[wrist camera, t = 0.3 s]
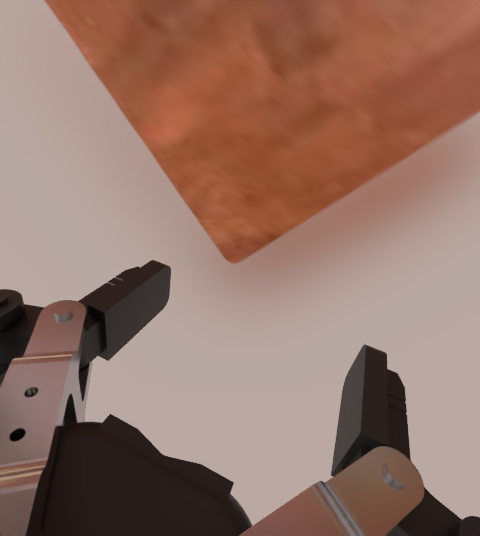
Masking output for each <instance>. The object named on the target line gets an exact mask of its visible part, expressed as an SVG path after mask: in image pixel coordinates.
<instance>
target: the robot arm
mask: <svg viewBox="0 0 480 536" xmlns="http://www.w3.org/2000/svg"><path fill="white" fill-rule="evenodd" d="M170 277H171V268H170V267H169V266H167V265H165V264H162V263H160V262H157V261H154V260H152V261H150V262H148V263H147V264H145V265H144V266H142V267H141V268H140V267H135V268H132V269H128V270H125V271H124V272H122V273H121V274H119V275H118V276H116V278H113V279H112V280H110V281H108V283H105V284H104V285H102V286H101V287H100V288H98V289H96V290H95V291H93V292H92V293H90V294H89V295H87V296H85V297H84V298H83V299H81V300H79V301H78V302H77V301H72V300H64V301H58V302H55V303H52V304H50V305H48V306H47V307H45V308H44V307H37V306H31V305H25V304H24V303H23V299H22V295H21V294H20V293H19V292H17V291H14V290H7V289H3V290H0V536H480V518H479V517H475V516H470V517H466V518H464V519H463V520H462V519H460V518H459V517H458V516H457V515H455V514H454V513H453V512H452V511H450V510H449V509H448V508H447V507H445V506H444V505H443V504H442V503H440V502H439V501H438V500H437V499H435V498H434V497H433V496H432V495H431V494H430V493H429V492H428V491H427V490H426V489H425V487H424V484H423V480H422V478H421V475H420V474H419V472H418V470H417V469H416V467H415V466H414V465H413V464H412V462H411V460H410V449H409V436H408V424H407V415H406V412H407V411H406V404H405V401H406V398H405V387H404V385H403V384H402V381H401V379H400V377H399V376H398V374H397V373H395V372H393V371H390V370H388V369H387V354H386V353H385V352H382V351H380V350H377V349H375V348H372V347H370V346H367V345H363V347H362V348H361V350H360V352H359V354H358V355H357V357H356V359H355V361H354V363H353V365H352V366H351V368H350V370H349V372H348V374H347V376H346V379H345V382H344V386H343V391H342V399H341V406H340V413H339V421H338V428H337V436H336V442H335V450H334V457H333V465H332V471H331V476H333V478H331V479H330V480H328V481H327V482H325V483H323V482H322V481H320V482H317V483H316V484H314V485H312V486H311V487H309V488H308V489H306V490H305V491H303V492H302V493H300V494H299V495H297V496H296V497H294V498H293V499H291V500H290V501H288V502H287V503H286V504H284V505H283V506H281V507H280V508H278V509H277V510H275V511H274V512H272V513H271V514H269V515H268V516H266V517H265V518H264V519H262V520H261V521H259V522H258V523H256V524H255V525H253V526H252V524H251V522H250V520H249V518H248V516H247V515H246V513H245V511H244V510H243V508H242V507H241V505H240V504H239V503H238V502H237V500H236V499H235V498H234V497H233V496H232V495H231V494H230V492H231V489H232V486H233V483H234V482H232V481H230V480H228V479H226V478H225V477H223V476H221V475H219V474H217V473H216V472H214V471H212V470H210V469H208V468H206V467H205V466H203V465H201V464H197V463H193V462H189V461H184V460H180V459H176V458H171V457H167V456H164V455H162V454H161V453H160V452H159V451H158V450H157V449H156V448H155V447H154V446H153V445H152V443H151V442H150V441H149V440H148V439H147V438H146V437H145V436H144V435H143V434H142V433H141V432H140V431H139V430H138V429H137V428H135V427H133V426H131V425H129V424H128V423H126V422H124V421H122V420H120V419H118V418H117V417H115V416H113V415H111V414H110V415H109V416H108V417H107V418H106V419H105V421H104V422H103V423H99V422H85V408H86V401H87V395H88V388H89V382H90V375H91V369H92V360H93V359H94V358H96V356H100V357H102V358H104V359H106V360H110V359H111V358H112V357H113V356H114V355H115V354H116V353H117V352H118V351H119V350H120V349H121V348H122V347H123V346H124V345H125V344H127V342H129V341H130V340H131V339H132V338H133V337H134V336H135V335H136V334H137V333H138V332H139V331H140V330H141V329H142V328H143V327H145V326H146V325H147V323H149V322H150V321H151V320H152V319H153V318H154V317H155V316H156V315H157V314H158V313H159V312H160V311H161V310H162V309H163V308H164V307H165V306H166V303H167V302H168V299H169V291H170Z"/></svg>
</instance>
